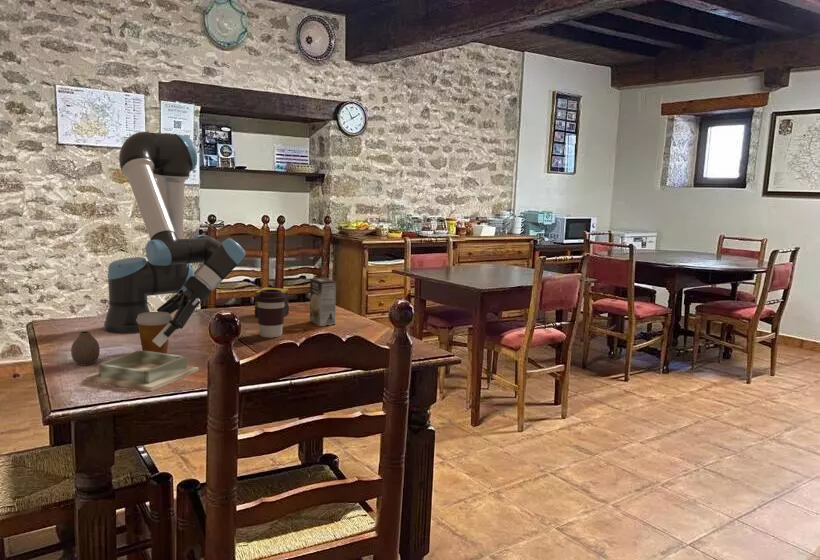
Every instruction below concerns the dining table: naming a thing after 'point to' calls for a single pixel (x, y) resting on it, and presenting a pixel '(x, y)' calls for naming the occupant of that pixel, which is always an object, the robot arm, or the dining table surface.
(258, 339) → the dining table surface
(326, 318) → the coffee box
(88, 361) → the vase
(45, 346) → the dining table surface
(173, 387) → the dining table surface
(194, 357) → the dining table surface
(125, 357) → the tray
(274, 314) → the coffee cup
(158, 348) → the disposable coffee cup
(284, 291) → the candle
